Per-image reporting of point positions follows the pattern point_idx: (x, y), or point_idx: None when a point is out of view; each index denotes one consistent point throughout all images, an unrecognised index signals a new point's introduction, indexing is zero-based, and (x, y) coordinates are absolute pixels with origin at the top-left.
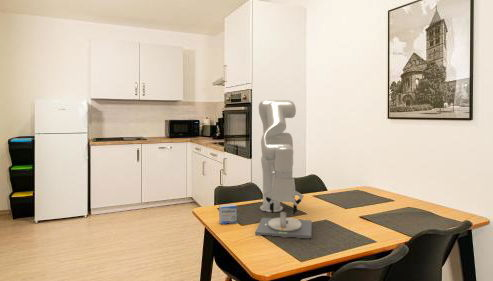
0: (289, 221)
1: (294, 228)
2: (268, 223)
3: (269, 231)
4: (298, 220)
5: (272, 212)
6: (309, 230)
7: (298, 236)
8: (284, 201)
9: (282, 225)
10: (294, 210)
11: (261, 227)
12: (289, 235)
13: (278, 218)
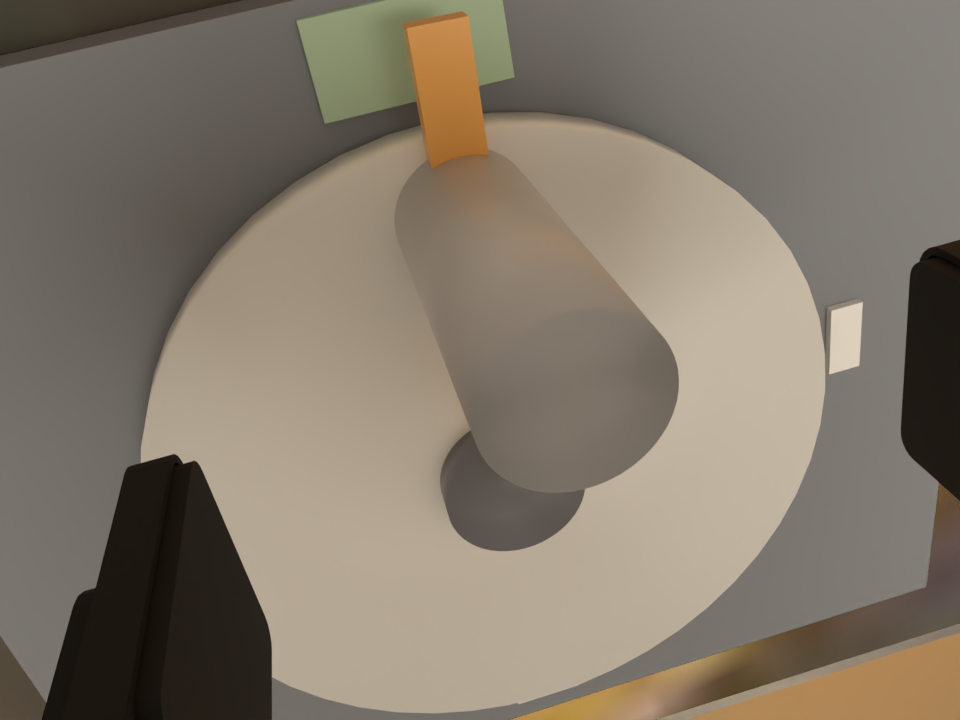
0: (440, 570)
1: (202, 289)
2: (813, 312)
3: (718, 6)
4: (295, 684)
5: (937, 256)
6: None
7: (13, 61)
8: (732, 697)
9: (476, 169)
10: (122, 559)
11: (904, 164)
12: (229, 9)
13: (674, 602)
